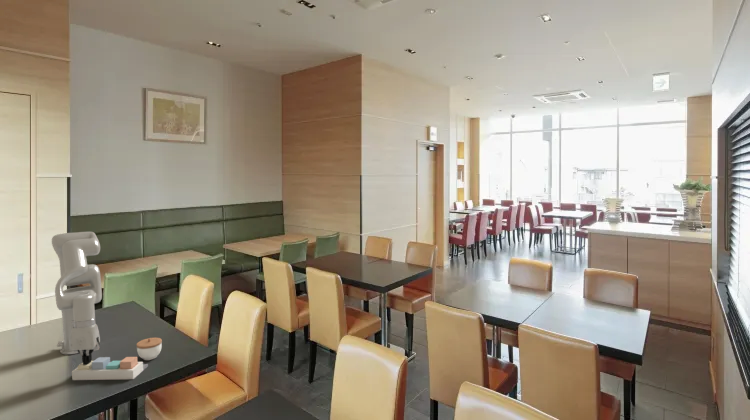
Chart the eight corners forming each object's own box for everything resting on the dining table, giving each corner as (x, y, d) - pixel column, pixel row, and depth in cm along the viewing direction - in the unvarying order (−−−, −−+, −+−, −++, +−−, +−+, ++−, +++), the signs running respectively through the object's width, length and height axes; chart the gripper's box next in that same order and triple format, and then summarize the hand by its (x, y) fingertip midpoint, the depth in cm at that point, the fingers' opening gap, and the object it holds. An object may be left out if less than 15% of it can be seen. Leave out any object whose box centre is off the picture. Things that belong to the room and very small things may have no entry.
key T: (106, 376, 171) (105, 365, 171) (113, 371, 176) (112, 360, 175) (117, 376, 171) (117, 365, 171) (124, 371, 176) (123, 360, 175)
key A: (120, 372, 171) (119, 361, 171) (126, 367, 176) (126, 356, 175) (131, 372, 171) (131, 361, 171) (137, 367, 176) (137, 356, 176)
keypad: (72, 380, 169) (71, 371, 169) (91, 366, 181) (90, 358, 180) (133, 379, 170) (132, 370, 170) (148, 366, 182) (147, 357, 181)
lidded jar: (144, 364, 183) (143, 345, 182) (132, 358, 189) (131, 340, 188) (167, 355, 192) (166, 337, 192) (155, 350, 198) (154, 332, 197)
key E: (78, 376, 170) (77, 365, 170) (86, 371, 175) (85, 360, 175) (89, 376, 171) (89, 365, 170) (97, 371, 175) (96, 360, 175)
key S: (92, 373, 171) (91, 362, 170) (99, 368, 175) (99, 357, 175) (103, 373, 171) (102, 362, 170) (110, 367, 176) (109, 357, 175)
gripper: (60, 326, 167) (63, 367, 168) (96, 325, 167) (98, 367, 169) (73, 319, 174) (76, 359, 176) (107, 319, 175) (110, 359, 176)
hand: (87, 363), depth 172 cm, fingers closed
